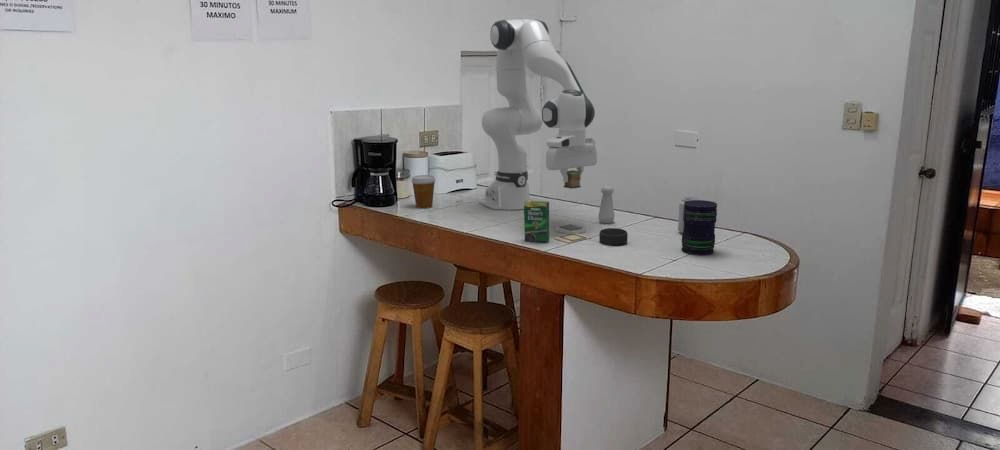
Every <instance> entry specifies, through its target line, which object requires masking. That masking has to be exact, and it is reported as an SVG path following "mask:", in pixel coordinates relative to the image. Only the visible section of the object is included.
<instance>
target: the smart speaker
mask: <svg viewBox="0 0 1000 450" xmlns="http://www.w3.org/2000/svg"><path fill="white" fill-rule="evenodd" d="M628 234H629V233H628V232H627V231H626V230H625V229H622V228H615V227H612V228H611V227H610V228H609V227H607V228H603V229H601V230H600V231H599V235H598V237H599V239H598V240H599V242H600V243H601V244H603V245H606V246H623V245H625V244H627V242H628Z"/></svg>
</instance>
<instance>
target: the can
mask: <svg viewBox="0 0 1000 450" xmlns="http://www.w3.org/2000/svg"><path fill="white" fill-rule="evenodd" d="M690 200H702V198H699V197H696V196H683V197H681V200H680V201H679V204H678V206H679V207H678V208H679V209H678V222H677V223H678V225H677V231H678V232H679V233H680V234H681V235H682V233H683V228H684V221H683V211H684V202H685V201H690Z"/></svg>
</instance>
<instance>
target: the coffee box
mask: <svg viewBox="0 0 1000 450" xmlns="http://www.w3.org/2000/svg"><path fill="white" fill-rule="evenodd" d="M523 215H524V216H523V218H524V219H523V221H524V222H523V223H524V224H523V225H524V241H525V242H535V243H536V242H537V243H542V242H543V243H545V244H548V243H549V242H550V201H543V200H542V201H540V200H530V201H525V202H524V209H523Z"/></svg>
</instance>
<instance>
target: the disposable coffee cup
mask: <svg viewBox="0 0 1000 450" xmlns="http://www.w3.org/2000/svg"><path fill="white" fill-rule="evenodd" d="M411 183H412V188H413V195H414V201H415V206H416V207H415V208H417V209H431V208H433V201H434V192H435V190H434V189H435V183H436V177H435V176H433V175H430V174H429V175H428V174H425V175H424V174H422V175H421V174H420V175H413V176H412V178H411Z"/></svg>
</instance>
